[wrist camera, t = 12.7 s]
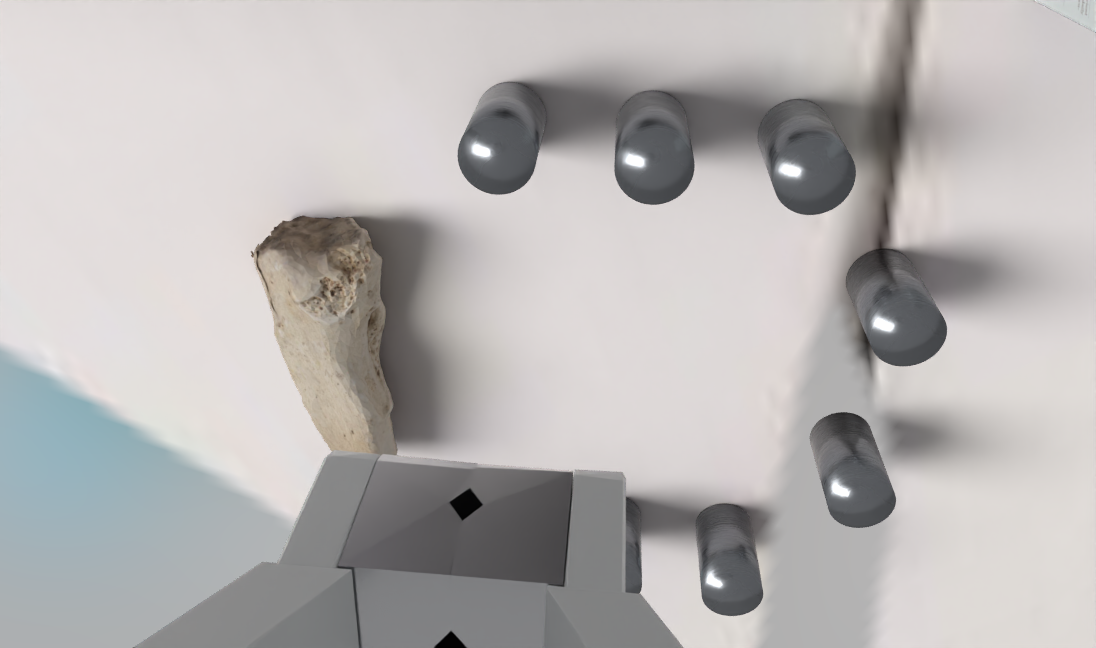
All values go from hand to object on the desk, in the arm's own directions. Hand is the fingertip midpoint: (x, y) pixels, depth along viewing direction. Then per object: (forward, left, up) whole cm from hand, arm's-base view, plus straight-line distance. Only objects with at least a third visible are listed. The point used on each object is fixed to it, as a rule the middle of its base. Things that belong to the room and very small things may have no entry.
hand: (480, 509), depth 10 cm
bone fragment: (-10, -17, -32) cm, 37 cm away
